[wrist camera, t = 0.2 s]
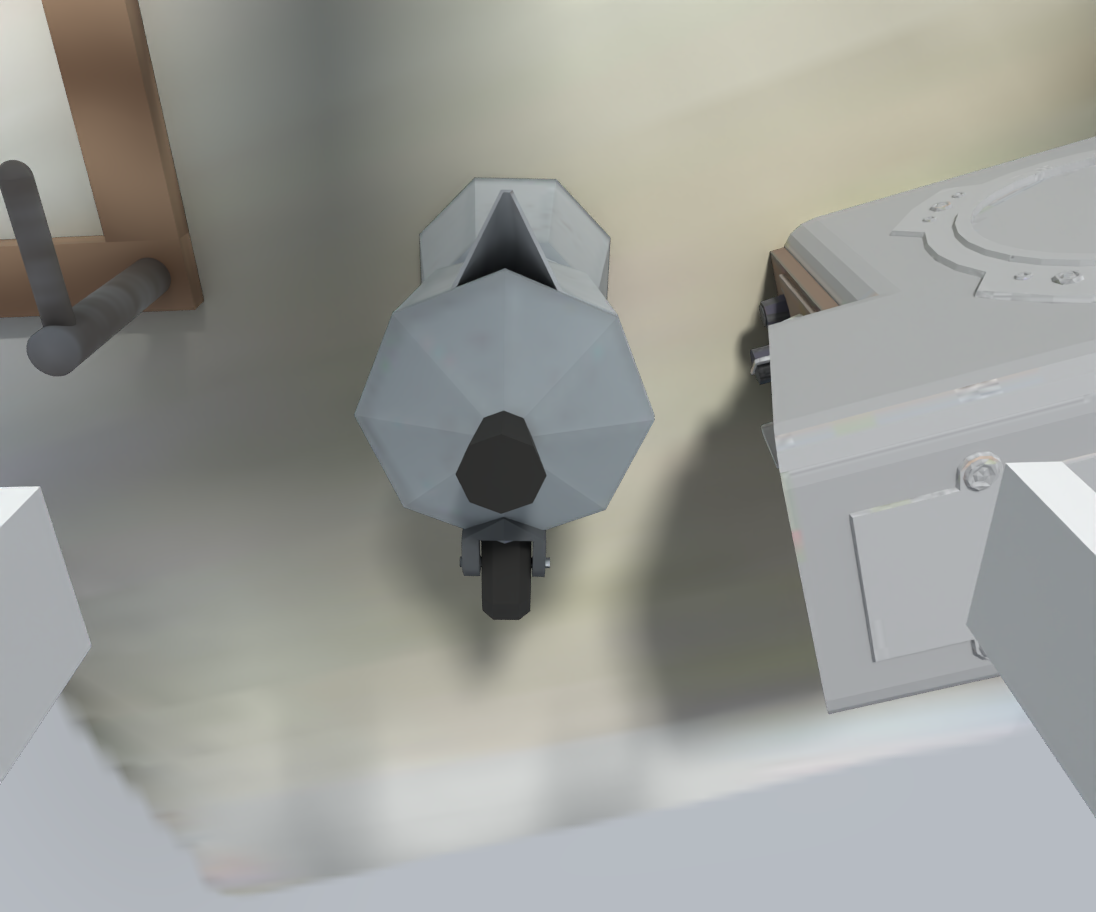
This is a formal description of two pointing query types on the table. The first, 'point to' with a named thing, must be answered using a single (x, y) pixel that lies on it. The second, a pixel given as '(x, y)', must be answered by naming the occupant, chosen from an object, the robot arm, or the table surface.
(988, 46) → the table surface
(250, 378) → the table surface
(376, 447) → the coffee maker
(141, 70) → the open wooden square frame
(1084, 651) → the robot arm
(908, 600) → the portable television
